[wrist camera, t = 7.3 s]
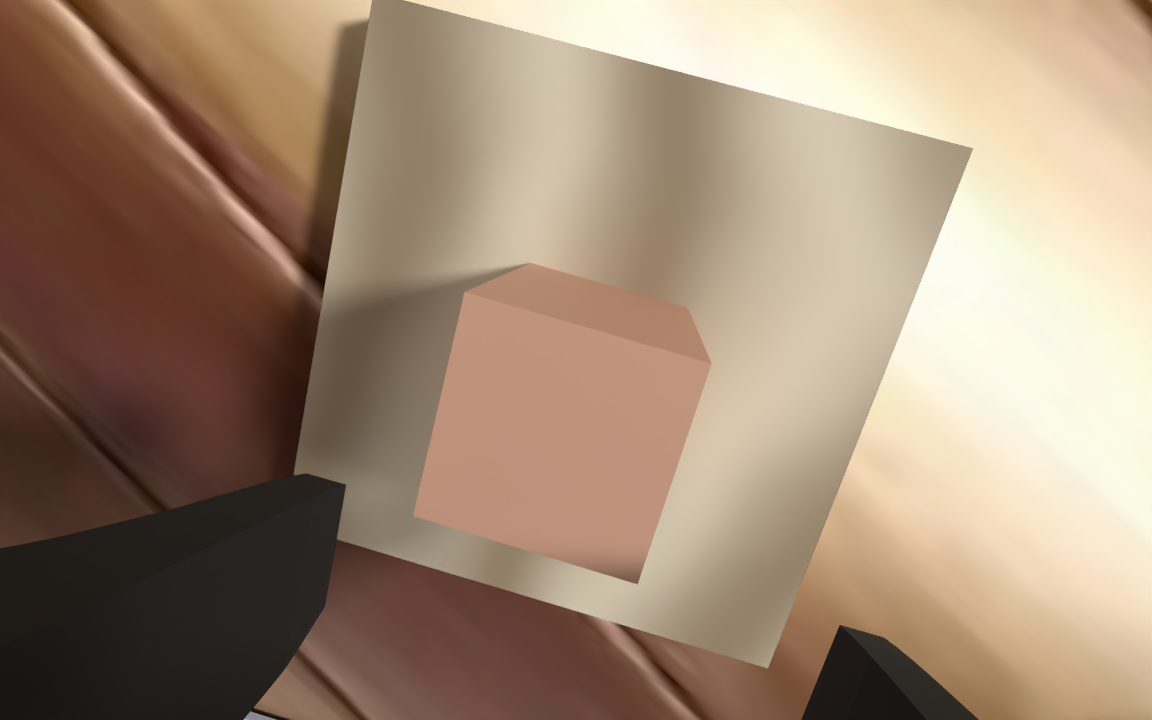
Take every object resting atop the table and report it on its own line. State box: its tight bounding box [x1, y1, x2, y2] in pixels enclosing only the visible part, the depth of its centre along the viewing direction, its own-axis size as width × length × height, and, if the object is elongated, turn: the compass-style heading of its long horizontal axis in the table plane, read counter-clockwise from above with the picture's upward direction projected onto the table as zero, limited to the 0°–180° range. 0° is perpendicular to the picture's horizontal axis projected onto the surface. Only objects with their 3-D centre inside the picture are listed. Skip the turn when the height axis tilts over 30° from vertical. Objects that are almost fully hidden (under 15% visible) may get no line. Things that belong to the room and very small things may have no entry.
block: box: [413, 263, 712, 584], centre depth 13 cm, size 4×4×6 cm
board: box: [293, 0, 973, 668], centre depth 17 cm, size 14×14×2 cm
